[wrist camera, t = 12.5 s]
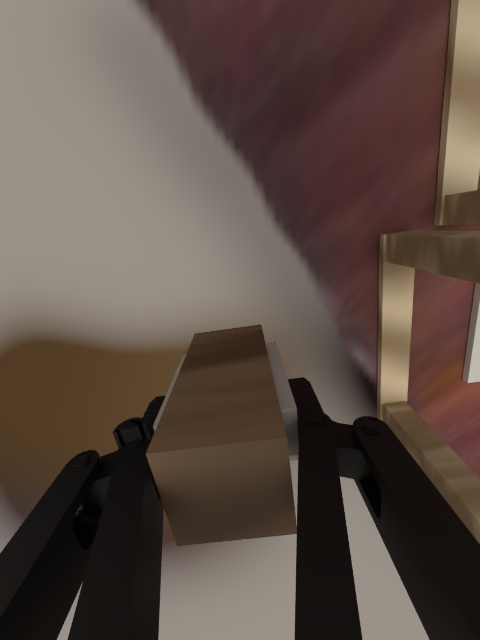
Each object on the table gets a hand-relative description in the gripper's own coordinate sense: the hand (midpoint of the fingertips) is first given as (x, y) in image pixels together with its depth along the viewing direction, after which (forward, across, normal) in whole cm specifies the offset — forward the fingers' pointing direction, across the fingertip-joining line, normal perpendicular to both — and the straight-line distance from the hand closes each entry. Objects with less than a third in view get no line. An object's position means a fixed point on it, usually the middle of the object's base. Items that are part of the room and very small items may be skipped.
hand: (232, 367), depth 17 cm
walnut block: (+1, 0, 0) cm, 1 cm away
